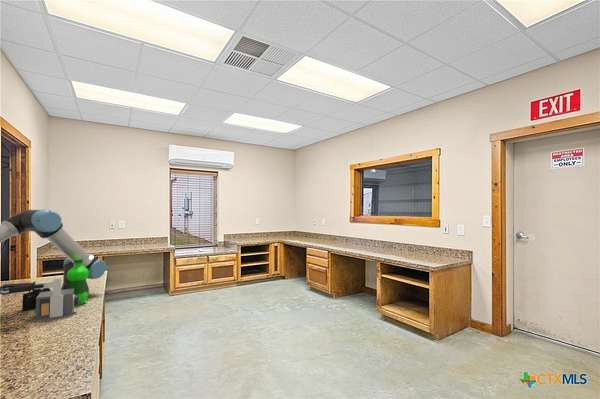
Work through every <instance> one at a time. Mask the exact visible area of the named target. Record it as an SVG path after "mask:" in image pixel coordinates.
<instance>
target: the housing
mask: <svg viewBox="0 0 600 399" xmlns="http://www.w3.org/2000/svg"><path fill="white" fill-rule="evenodd" d="M61 295H63V316H59V317H52V318H50V297H51V296H53V290H51V291H48V292H40V294H39V295H38V296H37V298H36V308H35V323H36V322H37V323H39V322H45V321H50V320H57V319H63V318H65V319H66V318H71V317H72V316H73V313H74V309H75V307H76V306H80V305H79V295H77V296H75V294H74V289H65V290H61Z"/></svg>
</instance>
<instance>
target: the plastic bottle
mask: <svg viewBox="0 0 600 399" xmlns="http://www.w3.org/2000/svg"><path fill="white" fill-rule="evenodd" d="M74 263H75V266H74V267H73V268H71V269H70V270H69V271H68V273H67V279H68V280H69V281H70V285H69V289H74V294H75V296H77V295H79V305H78V306H80V305H83V304H84V303H85V302H86V301H87V300H88V295H89V294H88V293H87V292H86V282H87V279H88V276H89V271H88V269H87V268H85V267H84V266H82V263H83V259H75V260H74Z"/></svg>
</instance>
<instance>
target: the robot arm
mask: <svg viewBox="0 0 600 399" xmlns="http://www.w3.org/2000/svg"><path fill="white" fill-rule="evenodd" d="M63 227H64V224H63V222H62V217H61V215H60V214H59V213H58V212H56V211H54V210H52V209H27V210H23V211H21V212H19V213H16V214H14V215H12V216H10V217H8V218H6V219H5V220H3V221H1V223H0V244H1V243H3V242H4V241H7V240H8V239H10V238H12V237H17V236H19V235H21V234H23V233H26V232H34V233H36V234H37V236H39V237H40V238H41V239H47V240H48V241H49V242H50V243H51V244H52V245H53V246H54V247H56V249H57V250H59V252H60V253H62V254H63V255H64V256H65V257H66V258H65V259H64V260H63V264H62V266H63V275H62V276H63V280H62V284H61V290H65V289H69V285H70V281H69V280H68V279H67V273H68V271H69V270H70V269H71V268H73V267H74V266H75V263H74V260H75V259H83V263H82V266H84V267H85V268H87V269H88V271H89V276H88V278H87V279H89V280H97V279H100V278H101V277H103V275H104V274H105V272H106V270H107V264H106V261H104V260H102V259H98V258H97V257H95V256H94V254H93V253H88V252H86V250H85V249H84V248H83V247H81V245H80V244H79V243H77V241H76V240H75V239H74V238H73V237H72V236H71V235H70V234H69V233H68V231H66V230H65V229H64V228H63ZM44 288H49V289H51V288H52V289H53V281H43V282H36V281H33V282H24V283H22V282H21V283H5V284H3V285H1V286H0V295H1V296H6V295H11V294H18V293H27V292H29V291H30V292H31V291H32V292H33V291H34V289H44ZM86 292H87V294H88V293H89V292H90V288H89V285H88V282H87V281H86Z"/></svg>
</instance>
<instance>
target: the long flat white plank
mask: <svg viewBox="0 0 600 399" xmlns="http://www.w3.org/2000/svg"><path fill="white" fill-rule="evenodd" d="M52 280H53V287H52V291H53V296H51V297H50V318H52V317H59V316H63V295H61V287H62V277H58V278H53V279H52Z"/></svg>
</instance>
